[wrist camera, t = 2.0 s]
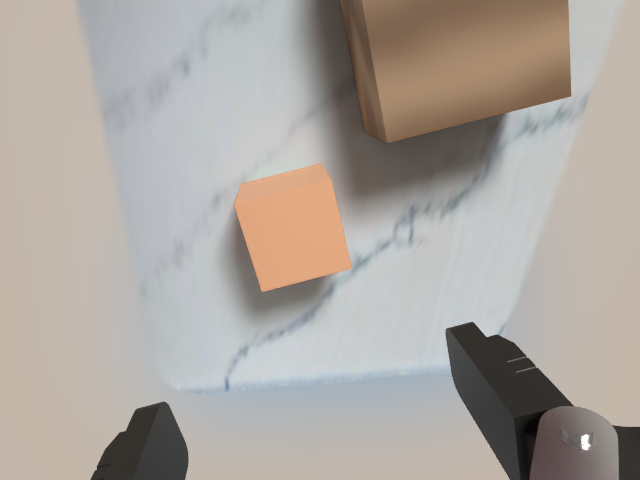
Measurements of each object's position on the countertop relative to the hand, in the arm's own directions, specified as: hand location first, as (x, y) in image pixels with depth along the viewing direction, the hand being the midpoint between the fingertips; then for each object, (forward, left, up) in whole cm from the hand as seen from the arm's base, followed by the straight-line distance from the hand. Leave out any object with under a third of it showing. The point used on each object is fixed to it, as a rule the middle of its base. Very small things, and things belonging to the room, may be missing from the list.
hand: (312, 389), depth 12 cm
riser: (-10, +11, -19) cm, 24 cm away
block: (0, 0, -19) cm, 19 cm away
